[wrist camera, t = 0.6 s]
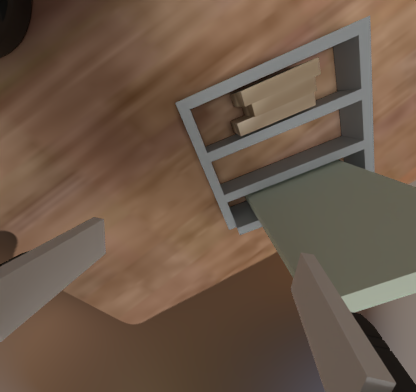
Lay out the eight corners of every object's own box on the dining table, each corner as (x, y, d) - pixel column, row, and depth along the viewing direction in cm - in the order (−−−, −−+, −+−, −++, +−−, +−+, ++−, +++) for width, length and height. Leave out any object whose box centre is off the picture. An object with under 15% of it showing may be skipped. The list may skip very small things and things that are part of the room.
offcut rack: (177, 103, 25) (173, 102, 20) (341, 29, 23) (388, 5, 18) (224, 216, 32) (231, 238, 27) (352, 166, 30) (387, 179, 25)
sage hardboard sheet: (241, 186, 30) (315, 304, 12) (323, 154, 29) (539, 231, 11) (245, 197, 31) (320, 323, 13) (325, 166, 30) (529, 256, 12)
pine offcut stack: (222, 98, 25) (231, 95, 20) (290, 68, 24) (318, 57, 19) (233, 132, 27) (244, 138, 22) (296, 105, 26) (324, 104, 21)
